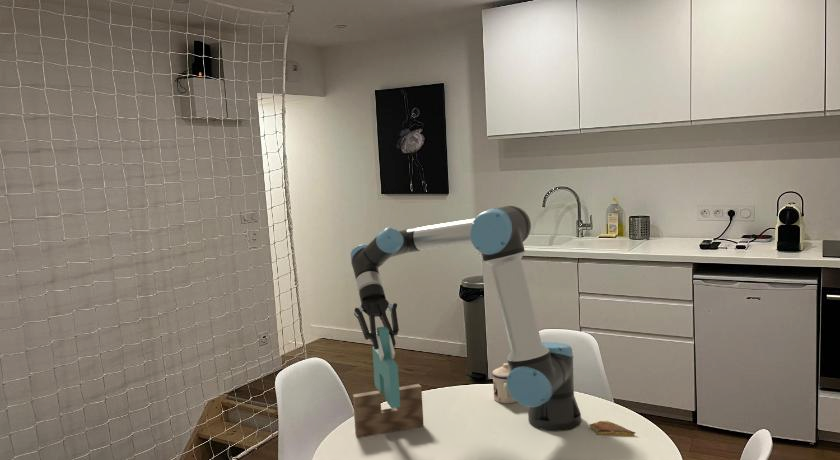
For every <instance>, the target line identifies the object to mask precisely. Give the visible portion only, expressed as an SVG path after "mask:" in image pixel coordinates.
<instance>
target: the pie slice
mask: <svg viewBox="0 0 840 460" xmlns="http://www.w3.org/2000/svg"><path fill="white" fill-rule="evenodd" d="M588 427H589V428H590V429H592V430H594V431H595V433H596V435H599V436H601V435H602V436H605V435H608V436H609V435H610V436H621V437H622V436H624V437H630V436H631V437H633V436H635V434H636V432H635V431H632V430H630V429H627V428H625V427H624V426H621V425H619V424H617V423H614V422H612V421H608V420H600V421H596V422H594V423H590V424H589V426H588Z"/></svg>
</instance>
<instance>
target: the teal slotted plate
mask: <svg viewBox="0 0 840 460" xmlns="http://www.w3.org/2000/svg"><path fill="white" fill-rule="evenodd" d="M377 336H379V337H380V341H381V345H382V349H383V353H384V358H383V360H382V361H380V357H379V353H378V349H376V350H375V349H374V347H373V346H372V350H371V351H372V365H373V379H374V386H375V388H376V389H377V391H379V392H380V394H384V400H385V401H386V403H387V404H388V405H389V407H390V408H396V407H400V393H399V387H400V380H399V379H400V378H399V377H400V376H399V365H398V363H397V362H396V361H395V360H394V359H392V358H391V356H390V343H389V329H387V328H386V327H384V326H379V327H378V326H377V327H376V337H377Z"/></svg>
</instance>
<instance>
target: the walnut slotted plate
mask: <svg viewBox="0 0 840 460" xmlns="http://www.w3.org/2000/svg"><path fill="white" fill-rule="evenodd" d="M399 393H400V407H396V408H391V407H390V408H385V409H382V403H381V393H380V392H379V391H378V390H372V391H366V392H361V393H360V392H359V393H355V394H352V402H353V419H354V431H355V432H354V433H355V436H356V438H357V439H358V438H364V437H369V436H370V437H371V436H376V435H380V434H385V433H386V434H387V433H390V432H391V433H392V432H396V431H398V432H399V431H403V430H408V429H413V428H418V427H424V410H423V408H424V407H423V394H422V385H420V383H416V384H409V385H404V386H399Z"/></svg>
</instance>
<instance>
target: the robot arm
mask: <svg viewBox="0 0 840 460" xmlns="http://www.w3.org/2000/svg"><path fill="white" fill-rule="evenodd" d="M531 229H532V222H531V218H530V216H529V215H528V214H527V212H526V211H525V210H524V209H522V208H520V207H518V206H514V205H507V206H501V207H500V206H499V207H495V208H490V209H487V210H485V211H483V212H480V213H479V214H478V215H476V216H475V217H474V218H468V219H462V220H457V221H456V220H455V221H449V222H445V223H444V222H443V223H437V224H430V225H426V226H425V225H424V226H420V227H414V228H413V227H411V228H405V229H402V230H397V229H396V228H393V227H391V226H389V227H386V228H384V229H383V230H382V231H380V232H379V233H378V234H377V235H376V236H375V238H374V239H373V240H371V241H370V242H369V243H368V244H359V245H358V246H355V247H353V248H352V250H351V251H350V261H351V263H350V264H351V266H352V269H353V273H354V277H355V281H356V286H357V291H358V295H359V299H360V307H355V308H354V310H353V311H354V312H353V316H355V317H356V319H357V321H358V323H359V326H360V329H361V331H362V333H363V336H364V337H363V338H364V340H367V341H368V340H370V341H371V342H372V347H374V349H375V350H376V349H378V353H379V357H380V361H382V360H383V358H384V353H383V349H382V345H381V341H380V337H379V336H377V327H376V317H379V319H380V321H381V322H382V325H383V327H386V328H387V329H389V343H390V357H391V358H392V359H393V360H394V359H395V357H396V351H395V347H396V345H397V344H396V339H395V336H398V334H399V330H400V329H399V321H398V316H397V314H398V313H397V308H398V307H397V306H398V303H395V302H394V303H393V304H392V303H390V302H389V301H388V300H387V298H386V295H385V289H384V287H383V283H382V280H381V279H382V278H381V276H380V271H379V268H380V267H381V266H382V265H383V264H385V263H386V262H387V261H388V260H389V259H390V258H392V257H396V256H401V255H404V254H408V253H414V252H420V251H427V250H435V249H441V248H442V249H443V248H449V247H457V246H464V245H473V247H474V249H475V250H477V251H478V252H480V253H481V257H482V261H483V262H484V263H485V264H486V265H488V266H489V267H490V270H491V274H492V277H493V278H492V279H493V282H494V283H493V284H494V286H495V287H494V288H495V290H496V295H497V299H498V303H499V307H500V311H501V316H502V319H503V323H504V327H505V331H506V334H507V335H506V337H507V340H508V344H509V348H510V352H509V354H508V356H507V363H508V364H509V368H510V373H509V375H508V377H507V383H506V384H507V389H508V392H509V394H510V395H511V397H512V398H513V399H514V400H515V401H517V402H516V403H518V404H519V405H521V406H524V407H527V408H529V409H528V414H527V416H528V417H527V419H528V423H529V424H530V425H531V426H533V427H535V428H537V429H540V430H545V431H552V432H561V431H569V430H572V429H575V428H577V427H579V426H580V425H581V423H582V413H581V410H580V408H579V406H578V405H579V404H578V402H577V400H576V396H575V390H574V389H575V385H574V383H575V382H574V380H575V379H574V355H573V354H574V353H573V348H572V347H571V345H569V344H566V343H563V342H555V341H554V342H553V341H542V339H541V335H540V332H539V331H540V330H539V327H538V322H537V318H536V315H535V310H534V306H533V302H532V297H531V295H530V290H529V286H528V282H527V278H526V273H525V269H524V266H523V262H522V258H523V256H524V255H525V254H526V251H525V247H524V242H525V241H526V240H527V239H528V237H529V236H530V233H531ZM387 309H388V311H389V312H390V317H391V323H390V321H389V318H388V316H387V313H386V312H387ZM363 312H364V313H365V314H366V315H367V316H368V320H369V327H370V328H369V327H368V324H367V322H366V319H365V316H364V314H363ZM391 325H392V326H391ZM369 329H370V330H369Z"/></svg>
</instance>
